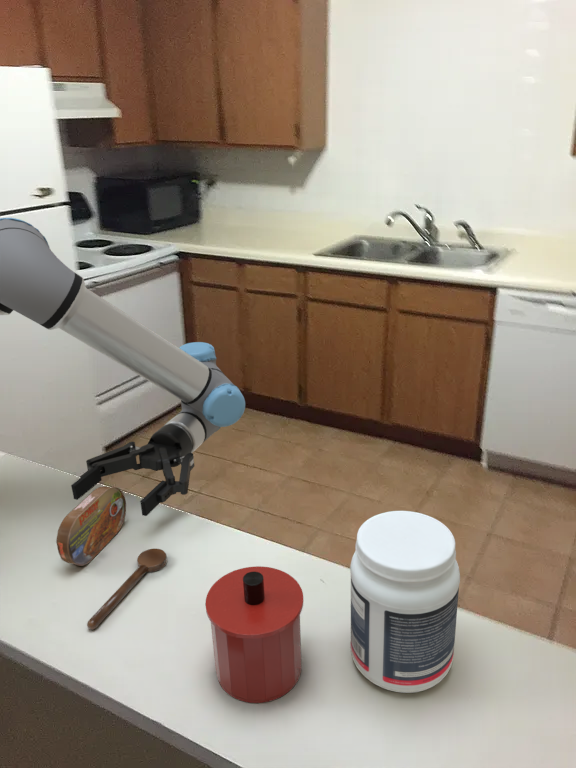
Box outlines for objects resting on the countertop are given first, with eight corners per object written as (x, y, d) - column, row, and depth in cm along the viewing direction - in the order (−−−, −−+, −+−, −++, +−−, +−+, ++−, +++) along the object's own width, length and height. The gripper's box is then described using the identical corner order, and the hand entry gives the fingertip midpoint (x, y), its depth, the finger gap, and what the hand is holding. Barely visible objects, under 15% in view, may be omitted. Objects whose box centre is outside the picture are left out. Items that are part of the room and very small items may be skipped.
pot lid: (187, 626, 77) (184, 598, 75) (233, 565, 87) (231, 538, 85) (280, 654, 73) (278, 625, 71) (317, 586, 82) (317, 559, 81)
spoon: (103, 636, 89) (101, 628, 89) (76, 627, 91) (75, 619, 90) (172, 557, 104) (171, 550, 103) (148, 551, 106) (147, 544, 105)
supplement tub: (467, 643, 86) (479, 525, 79) (429, 717, 76) (439, 590, 69) (376, 607, 93) (379, 495, 85) (331, 670, 83) (330, 550, 75)
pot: (201, 687, 81) (193, 621, 77) (240, 627, 90) (235, 564, 86) (281, 714, 77) (277, 646, 73) (313, 648, 86) (312, 584, 82)
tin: (75, 577, 100) (66, 531, 97) (58, 573, 101) (48, 527, 98) (130, 520, 113) (123, 478, 110) (114, 517, 114) (107, 475, 111)
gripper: (236, 469, 123) (176, 535, 106) (124, 447, 133) (51, 504, 115) (233, 433, 120) (171, 495, 103) (119, 413, 130) (43, 467, 112)
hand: (107, 500), depth 109 cm, fingers open, 13 cm apart
